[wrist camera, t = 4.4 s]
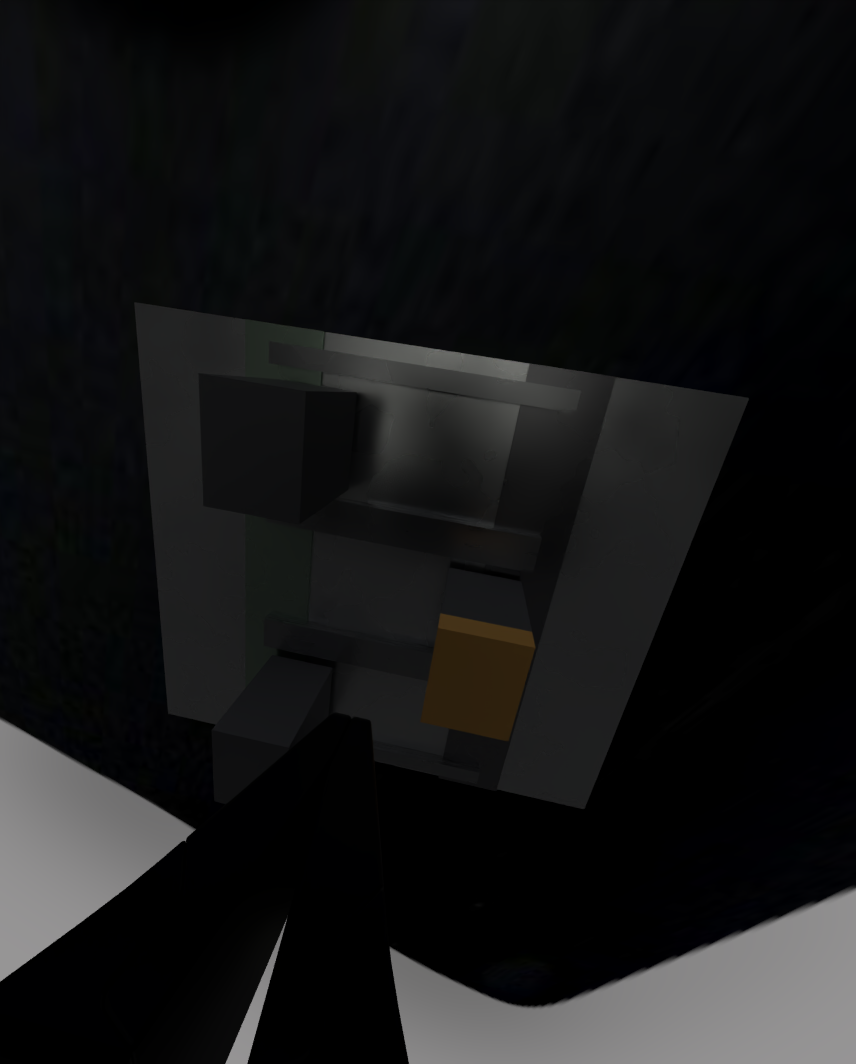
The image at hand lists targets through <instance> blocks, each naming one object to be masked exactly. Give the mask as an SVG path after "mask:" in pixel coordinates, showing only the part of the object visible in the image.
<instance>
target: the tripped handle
mask: <svg viewBox="0 0 856 1064" xmlns="http://www.w3.org/2000/svg"><path fill="white" fill-rule="evenodd" d="M534 651H535V643H534V639H533V634H532V629H531V624H530V619H529V615H528V610H527V605H526V600H525V596H524V591H523V586H522V581H517V580H512V579H507V578H502V577H496V576H491V575H486V574H481V573H476V572H471V571H465V570H460V569H455V568H450V567H449V572H448V577H447V583H446V588H445V593H444V598H443V604H442V609H441V614H440V619H439V624H438V630H437V635H436V640H435V646H434V651H433V656H432V662H431V667H430V672H429V678H428V683H427V688H426V694H425V699H424V704H423V710H422V715H421V720H420V722H422V723H427V724H431V725H436V726H440V727H445V728H449V729H454V730H458V731H463V732H467V733H472V734H476V735H481V736H486V737H490V738H495V739H499V740H504V741H509V738H510V734H511V731H512V727H513V724H514V720H515V717H516V713H517V710H518V706H519V703H520V699H521V696H522V693H523V689H524V686H525V682H526V679H527V675H528V672H529V668H530V665H531V661H532V658H533V654H534Z"/></svg>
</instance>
